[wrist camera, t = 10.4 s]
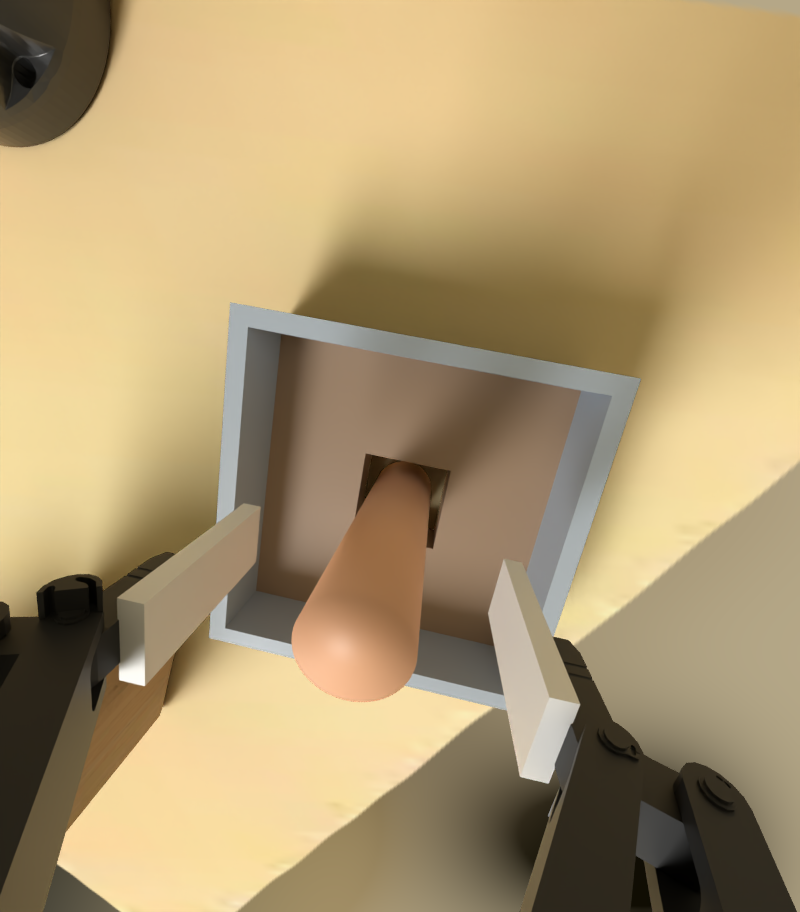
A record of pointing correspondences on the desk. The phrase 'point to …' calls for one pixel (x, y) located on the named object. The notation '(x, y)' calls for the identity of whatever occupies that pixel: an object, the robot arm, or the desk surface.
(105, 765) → the wooden block
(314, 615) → the peg
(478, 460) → the bore box
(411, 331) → the desk surface
